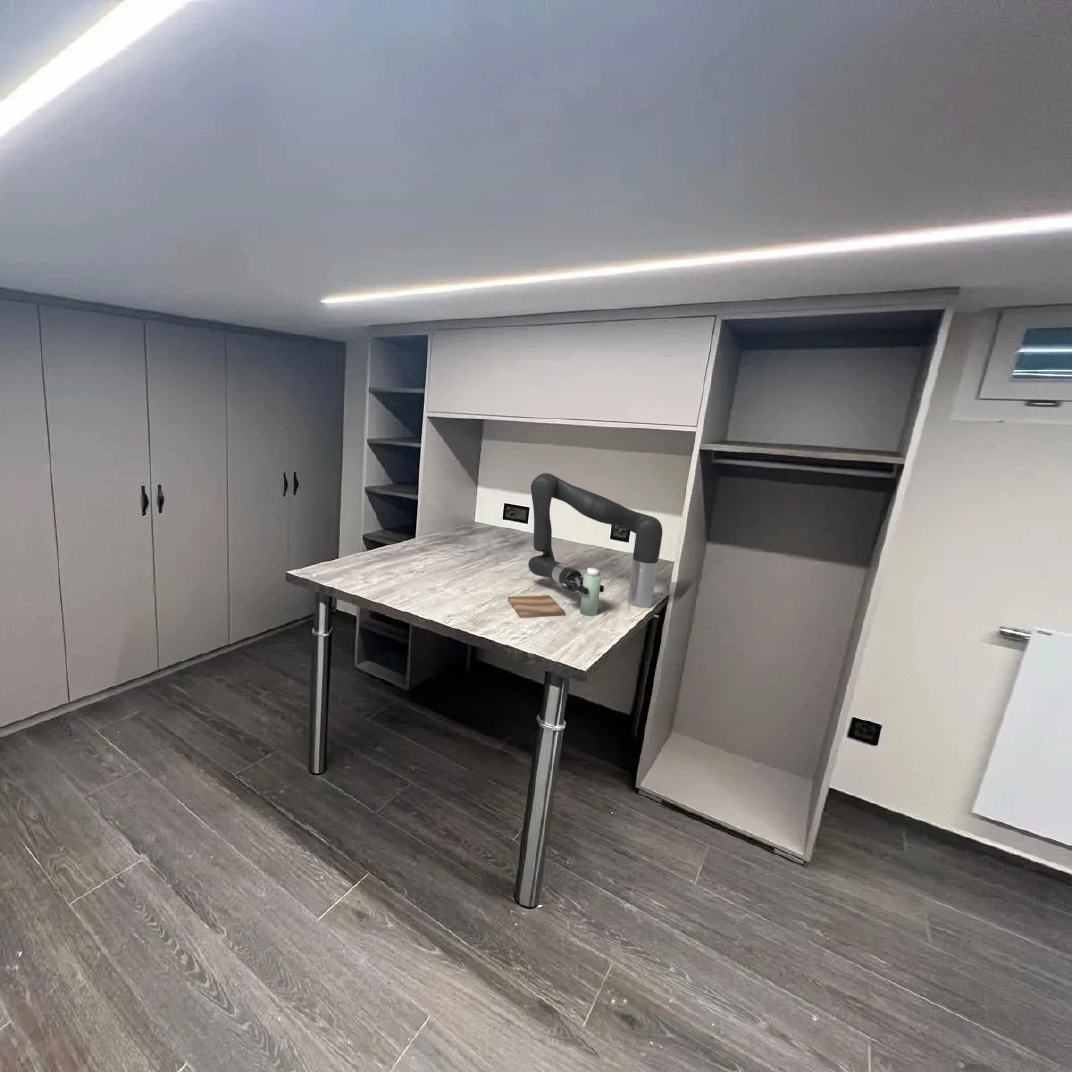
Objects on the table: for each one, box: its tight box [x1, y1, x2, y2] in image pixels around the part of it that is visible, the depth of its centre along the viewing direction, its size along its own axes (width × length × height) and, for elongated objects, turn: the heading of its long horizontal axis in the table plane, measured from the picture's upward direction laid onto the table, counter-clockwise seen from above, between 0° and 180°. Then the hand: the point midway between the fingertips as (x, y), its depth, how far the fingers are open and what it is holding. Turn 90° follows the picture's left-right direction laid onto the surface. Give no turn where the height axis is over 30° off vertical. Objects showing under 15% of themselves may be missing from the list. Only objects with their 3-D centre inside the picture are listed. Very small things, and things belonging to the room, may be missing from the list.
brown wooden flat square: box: [507, 594, 566, 619], centre depth 177 cm, size 16×16×2 cm
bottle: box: [579, 567, 602, 617], centre depth 175 cm, size 6×6×16 cm
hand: (595, 590), depth 172 cm, fingers open, 6 cm apart
